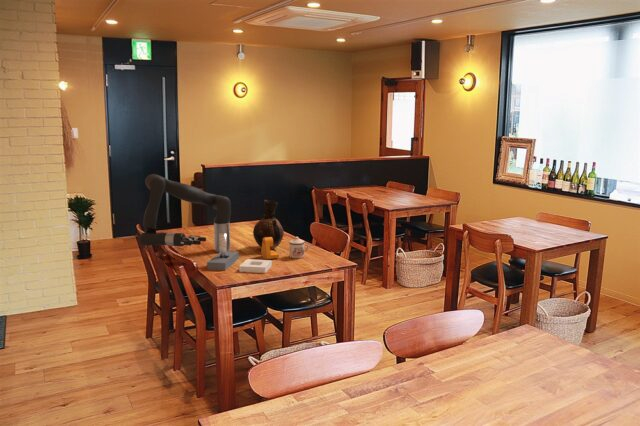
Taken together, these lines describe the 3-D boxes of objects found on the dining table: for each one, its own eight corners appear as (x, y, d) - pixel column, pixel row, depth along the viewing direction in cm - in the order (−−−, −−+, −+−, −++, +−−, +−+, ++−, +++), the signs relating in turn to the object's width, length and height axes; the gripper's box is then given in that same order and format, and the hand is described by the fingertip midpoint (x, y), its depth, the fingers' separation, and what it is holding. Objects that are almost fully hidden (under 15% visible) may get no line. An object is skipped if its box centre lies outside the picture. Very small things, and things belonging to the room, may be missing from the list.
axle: (221, 262, 317) (220, 232, 313) (228, 263, 316) (227, 233, 313) (218, 264, 313) (218, 234, 309) (225, 265, 312) (225, 234, 309)
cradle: (246, 264, 313) (246, 259, 313) (271, 265, 311) (271, 260, 311) (239, 271, 300) (239, 266, 299) (265, 273, 298) (265, 267, 297)
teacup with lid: (292, 259, 324) (292, 239, 322) (286, 255, 332) (286, 236, 330) (311, 257, 329) (311, 237, 327) (305, 253, 337) (305, 234, 335)
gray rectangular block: (221, 257, 327) (221, 251, 326) (238, 258, 325) (238, 251, 324) (207, 269, 303) (207, 262, 303) (225, 270, 302) (225, 263, 301)
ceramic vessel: (247, 246, 353) (247, 199, 347) (272, 243, 362) (272, 196, 357) (263, 254, 335) (263, 204, 330) (289, 250, 345) (289, 201, 339)
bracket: (279, 259, 325) (279, 238, 323) (267, 260, 322) (267, 239, 320) (273, 254, 335) (272, 234, 332) (261, 255, 332) (261, 235, 330)
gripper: (169, 235, 308) (198, 237, 306) (180, 230, 322) (207, 231, 320) (170, 249, 310) (198, 250, 307) (180, 243, 323) (207, 244, 321)
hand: (203, 241), depth 313 cm, fingers open, 8 cm apart
